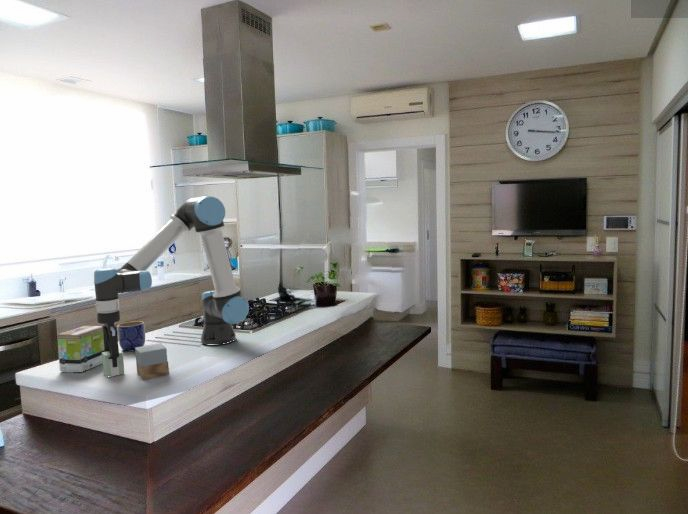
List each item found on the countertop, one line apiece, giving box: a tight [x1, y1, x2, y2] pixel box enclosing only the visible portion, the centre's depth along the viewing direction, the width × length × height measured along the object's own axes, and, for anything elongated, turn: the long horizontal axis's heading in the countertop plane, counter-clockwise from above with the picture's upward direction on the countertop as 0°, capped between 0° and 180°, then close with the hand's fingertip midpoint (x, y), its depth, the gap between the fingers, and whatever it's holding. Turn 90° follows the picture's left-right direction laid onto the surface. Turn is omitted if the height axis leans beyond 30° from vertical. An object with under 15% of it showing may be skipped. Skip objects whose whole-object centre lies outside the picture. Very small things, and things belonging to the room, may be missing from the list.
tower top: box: [134, 342, 168, 367], centre depth 186 cm, size 9×9×5 cm
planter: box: [116, 320, 146, 352], centre depth 223 cm, size 11×11×11 cm
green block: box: [102, 349, 125, 378], centre depth 189 cm, size 6×6×8 cm
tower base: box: [135, 360, 170, 381], centre depth 186 cm, size 9×9×5 cm
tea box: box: [57, 325, 105, 373], centre depth 199 cm, size 15×10×15 cm
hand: (113, 373), depth 189 cm, fingers closed on green block, 6 cm apart
